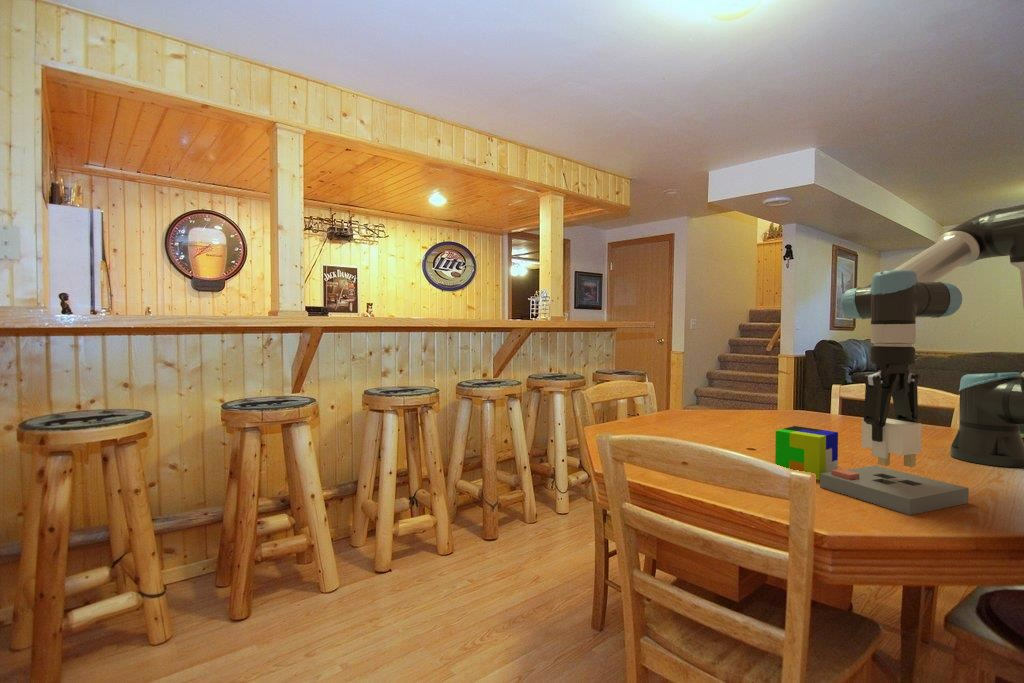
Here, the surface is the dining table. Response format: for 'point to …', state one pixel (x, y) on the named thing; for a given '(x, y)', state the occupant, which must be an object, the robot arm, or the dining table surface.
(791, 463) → the puzzle toy
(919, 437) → the plug
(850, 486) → the socket plate
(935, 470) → the dining table surface
